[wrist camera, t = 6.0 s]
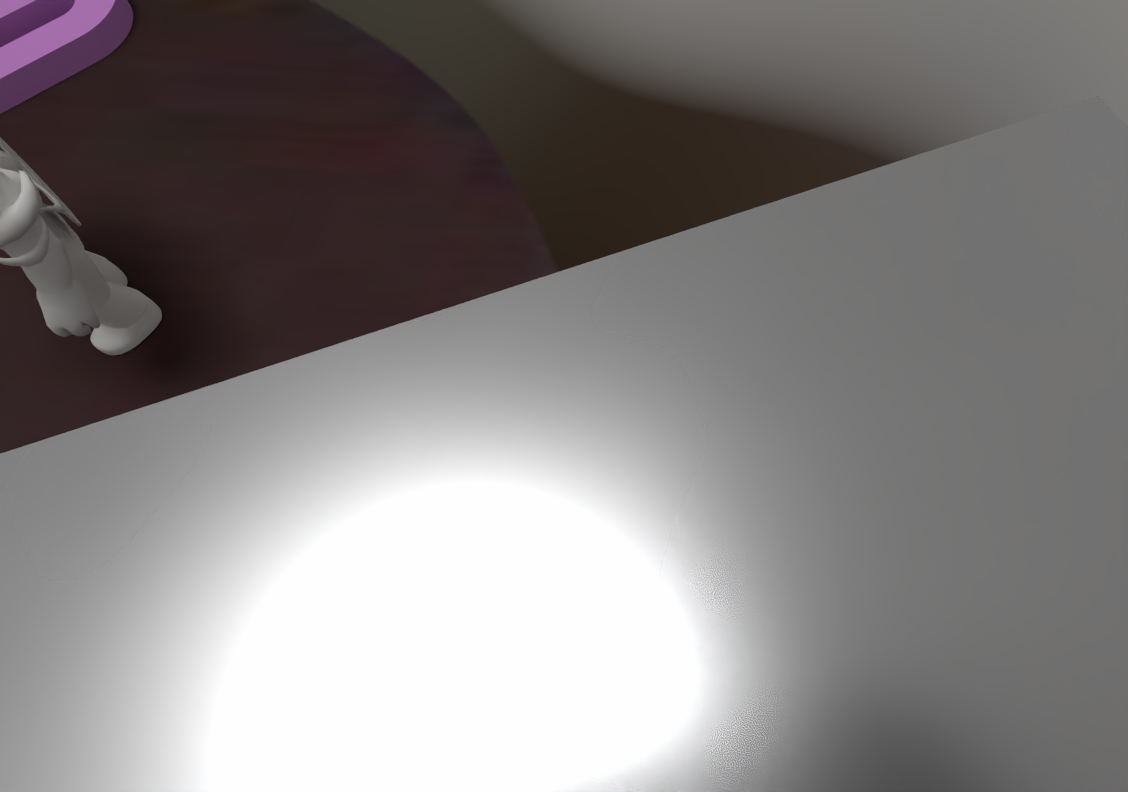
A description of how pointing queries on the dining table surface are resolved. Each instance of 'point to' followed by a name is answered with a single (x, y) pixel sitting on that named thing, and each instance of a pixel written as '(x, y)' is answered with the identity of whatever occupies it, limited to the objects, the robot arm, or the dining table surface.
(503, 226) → the dining table surface
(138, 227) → the dining table surface
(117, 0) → the bracket
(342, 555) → the tall gray rectangular block
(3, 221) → the flower shoulder figurine
